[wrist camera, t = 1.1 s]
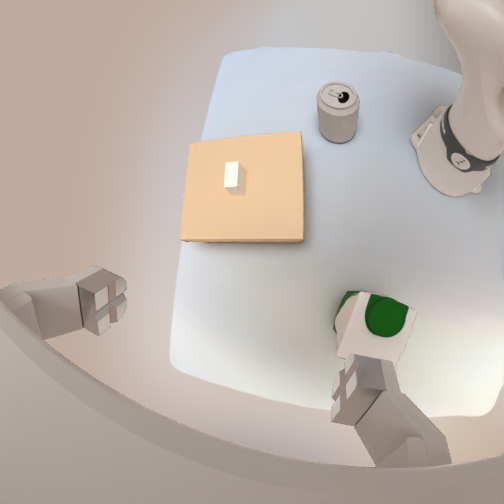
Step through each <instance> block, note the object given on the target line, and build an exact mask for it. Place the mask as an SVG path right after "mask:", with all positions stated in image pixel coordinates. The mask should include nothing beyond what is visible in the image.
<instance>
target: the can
mask: <svg viewBox="0 0 504 504" xmlns="http://www.w3.org/2000/svg"><path fill="white" fill-rule="evenodd" d="M316 98H317V108H318V119H319V129H320V132H321V134H322V135H323V136H324V137H325V138H326V139H328V140H329V141H332V142H336V143H343V142H346V141H349V140H350V139H352V138H353V136H354V135H355V131H356V125H357V118H358V111H359V103H360V101H359V97H358V95H357V94H356V92H355V91H354V89H353V88H352V87H351V86H350V85H348V84H346V83H343V82H329V83H327V84H325V85H323V87H322V88H321V89H320V91H319V92H318V94H317V97H316Z"/></svg>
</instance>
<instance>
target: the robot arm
mask: <svg viewBox="0 0 504 504" xmlns="http://www.w3.org/2000/svg"><path fill="white" fill-rule="evenodd" d="M434 9H435V15H436V18H437V21H438V24H439V26H440V28H441V30H442V32H443V33H444V34H445V35H446V37H447V38H448V39H449V41H450V42H451V44H452V46H453V47H454V49H455V51H456V54H457V56H458V58H459V61H460V64H461V69H462V84H461V87H460V90H459V93H458V95H457V97H456V99H455V101H454V103H452V104H450V105H449V106H448V107H446V106H442V105H441V106H439V107H436V108H435V110H434V111H433V113H432V115H431V116H430V117H429V118H428V119H427V120H426V121H425V122H424V123H423V124H422V125H421V126H420V127H419V128H418V129H417V130H416V132H415V133H414V134H413V135H412V136H411V138H410V141H411V143H412V145H413V147H414V148H415V150H416V152H417V157H418V162H419V166H420V168H421V170H422V172H423V174H424V176H425V177H426V179H427V180H428V181H429V183H430V184H431V185H432V186H433V187H434V188H436V189H437V190H438V191H440V192H441V193H443V194H446V195H448V196H453V197H458V196H463V195H465V194H467V193H474V194H478V193H480V192H481V190H482V185H483V181H484V180H485V179H486V178H487V177H488V176H489V175H490V174H491V171H490V170H491V166H492V165H493V164H494V163H495V162H496V160H497V159H498V158H499V156H500V154H501V153H502V152H503V151H504V0H435V1H434ZM418 136H419V137H420V138H419V137H418ZM126 287H127V286H126V281H125V279H124V278H122V277H120V276H118V275H116V274H114V273H112V272H109V271H107V270H105V269H103V268H101V267H98V266H95V265H92V266H90V267H88V268H86V269H84V270H82V271H80V272H78V273H76V274H75V275H73V276H71V277H69V278H67V279H65V278H55V279H43V280H32V281H21V282H14V283H12V284H10V285H8V286H6V287H4V288H2V289H0V504H504V453H503V454H499V455H496V456H492V457H487V458H482V459H478V460H473V461H467V462H462V463H454V464H452V462H451V457H450V453H449V449H448V445H447V441H446V438H445V436H444V434H443V433H442V432H441V431H440V430H439V429H438V428H437V427H436V426H435V425H434V424H433V423H432V422H431V421H430V420H429V419H428V418H427V417H426V416H425V415H424V414H423V412H422V411H421V410H420V409H419V408H418V407H417V406H416V405H415V404H414V403H413V402H412V401H411V400H410V399H409V398H408V397H407V396H406V395H405V394H402V393H401V392H400V388H399V384H398V380H397V376H396V373H395V369H394V366H393V363H392V362H391V361H390V360H384V359H376V358H371V357H367V356H362V355H357V354H353V353H351V354H350V355H349V356H348V357H347V359H346V361H345V369H343V370H341V371H339V373H338V375H337V377H336V379H335V382H334V385H333V389H332V398H333V399H334V401H335V403H334V404H333V406H332V415H331V422H335V423H340V424H345V425H351V426H355V427H354V428H355V429H356V431H357V433H358V435H359V437H360V438H361V440H362V442H363V443H364V445H365V447H366V449H367V451H368V452H369V454H370V456H371V458H372V459H373V461H374V463H375V465H376V467H358V466H346V465H336V464H328V463H321V462H314V461H308V460H302V459H297V458H292V457H287V456H282V455H277V454H273V453H269V452H265V451H261V450H257V449H254V448H250V447H247V446H243V445H240V444H236V443H233V442H230V441H227V440H224V439H221V438H218V437H215V436H212V435H210V434H207V433H204V432H202V431H199V430H197V429H194V428H191V427H189V426H186V425H184V424H182V423H179V422H177V421H175V420H173V419H170V418H168V417H166V416H164V415H162V414H159V413H157V412H155V411H153V410H151V409H149V408H147V407H145V406H143V405H141V404H139V403H138V402H136V401H134V400H132V399H130V398H128V397H126V396H125V395H123V394H121V393H119V392H118V391H116V390H114V389H112V388H111V387H109V386H108V385H106V384H104V383H103V382H101V381H99V380H98V379H96V378H95V377H93V376H92V375H90V374H89V373H87V372H86V371H84V370H83V369H81V368H80V367H78V366H77V365H75V364H74V363H73V362H71V361H70V360H68V359H67V358H66V357H64V356H63V355H62V354H60V353H59V352H58V351H56V350H55V349H54V348H53V347H51V346H50V345H49V344H48V343H46V342H45V341H44V340H45V339H49V338H53V337H56V336H59V335H63V334H66V333H70V332H73V331H76V330H80V329H82V328H85V329H87V330H89V331H91V332H93V333H94V334H96V335H98V336H101V335H102V334H103V333H104V332H106V331H107V330H108V329H109V328H110V326H111V323H113V322H117V321H119V320H120V319H121V318H122V317H123V315H124V313H125V311H126V307H127V299H126V297H125V295H124V292H125V291H126V289H127V288H126Z"/></svg>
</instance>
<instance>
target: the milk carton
mask: <svg viewBox="0 0 504 504" xmlns="http://www.w3.org/2000/svg"><path fill="white" fill-rule="evenodd" d="M416 315H417V310H415V309H413V308H411V307H409V306H407V305H404V304H402V303H400V302H398V301H396V300H394V299H392V298H389V297H386V296H383V295H381V294H377V293H373V292H366V291H347V293H346V295H345V296H344V298H343V300H342V302H341V305H340V307H339V310H338V312H337V315H336V317H335V321H334V331H335V332H336V334H337V346H336V356H337V357H340V358H343V359H347V357H348V356H349V355H350V354H351V353H353V354H357V355H362V356H367V357H371V358H376V359H384V360H390V361H391V362H392V363H393V366H394V369H395V367H396V365H397V362H398V360H399V358H400V356H401V354H402V353H403V351H404V349H405V346H406V343H407V340H408V338H409V335H410V332H411V329H412V327H413V324H414V321H415V318H416Z"/></svg>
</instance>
